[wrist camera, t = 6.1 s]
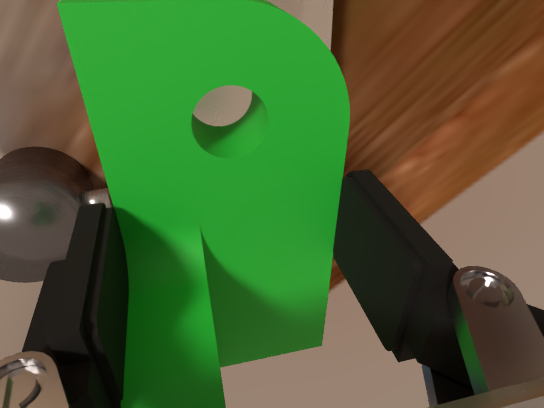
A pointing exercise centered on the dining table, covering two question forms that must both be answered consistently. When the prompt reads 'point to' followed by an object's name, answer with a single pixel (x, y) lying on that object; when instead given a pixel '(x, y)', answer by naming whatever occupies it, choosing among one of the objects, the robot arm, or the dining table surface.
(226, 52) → the mechanical part
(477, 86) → the dining table surface
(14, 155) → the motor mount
